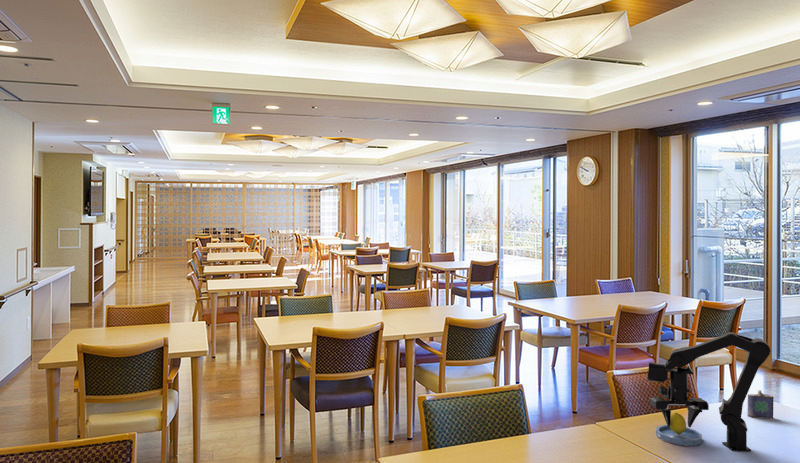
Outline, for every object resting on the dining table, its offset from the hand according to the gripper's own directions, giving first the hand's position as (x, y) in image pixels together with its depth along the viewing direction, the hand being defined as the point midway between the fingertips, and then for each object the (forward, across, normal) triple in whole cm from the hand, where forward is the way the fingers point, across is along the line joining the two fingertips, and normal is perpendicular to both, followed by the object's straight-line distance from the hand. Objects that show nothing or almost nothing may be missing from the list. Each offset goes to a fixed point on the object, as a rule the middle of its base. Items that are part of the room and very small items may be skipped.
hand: (678, 426), depth 193 cm
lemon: (+3, 0, 0) cm, 3 cm away
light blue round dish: (+4, 0, 0) cm, 4 cm away
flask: (+4, -44, -24) cm, 50 cm away
